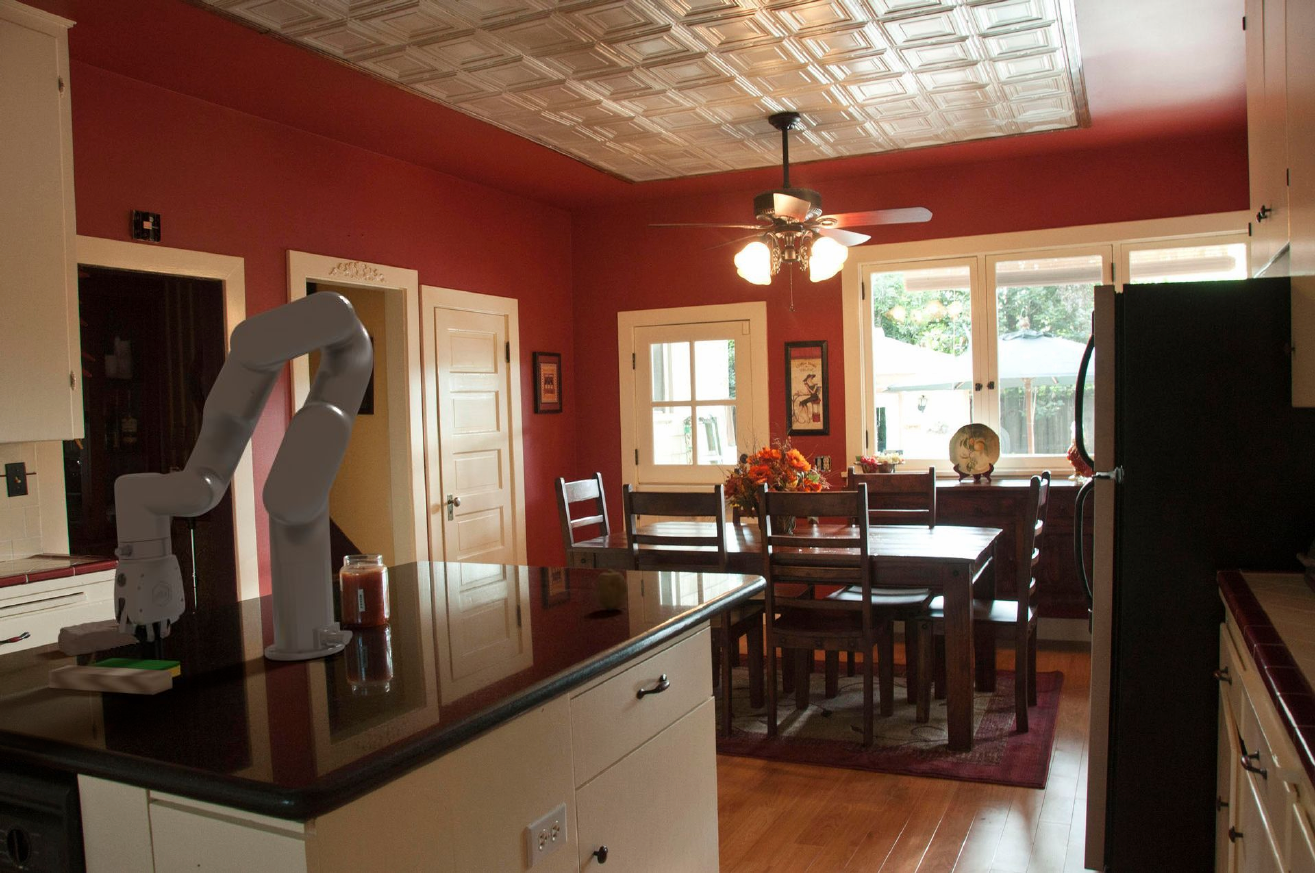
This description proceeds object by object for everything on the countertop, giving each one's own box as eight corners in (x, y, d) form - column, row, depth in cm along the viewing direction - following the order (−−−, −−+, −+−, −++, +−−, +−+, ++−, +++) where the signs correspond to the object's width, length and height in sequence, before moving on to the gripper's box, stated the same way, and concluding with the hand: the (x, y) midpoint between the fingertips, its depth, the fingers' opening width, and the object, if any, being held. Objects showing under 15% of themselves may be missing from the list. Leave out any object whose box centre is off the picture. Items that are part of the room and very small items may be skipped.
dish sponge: (114, 672, 156) (113, 657, 156) (182, 676, 152) (181, 660, 152) (75, 684, 149) (74, 668, 149) (145, 689, 145) (144, 672, 145)
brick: (72, 658, 167) (70, 630, 167) (56, 651, 173) (55, 625, 172) (172, 639, 179) (171, 614, 179) (154, 634, 185) (153, 609, 185)
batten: (172, 687, 143) (171, 670, 143) (153, 694, 140) (152, 677, 140) (70, 681, 150) (69, 665, 150) (49, 687, 146) (48, 671, 146)
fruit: (628, 606, 190) (626, 565, 190) (628, 612, 184) (626, 570, 184) (596, 607, 190) (594, 567, 190) (595, 614, 184) (593, 572, 184)
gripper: (124, 557, 147) (132, 678, 147) (199, 543, 161) (206, 653, 162) (86, 557, 149) (94, 676, 150) (164, 543, 164) (171, 651, 164)
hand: (152, 663), depth 156 cm, fingers closed
